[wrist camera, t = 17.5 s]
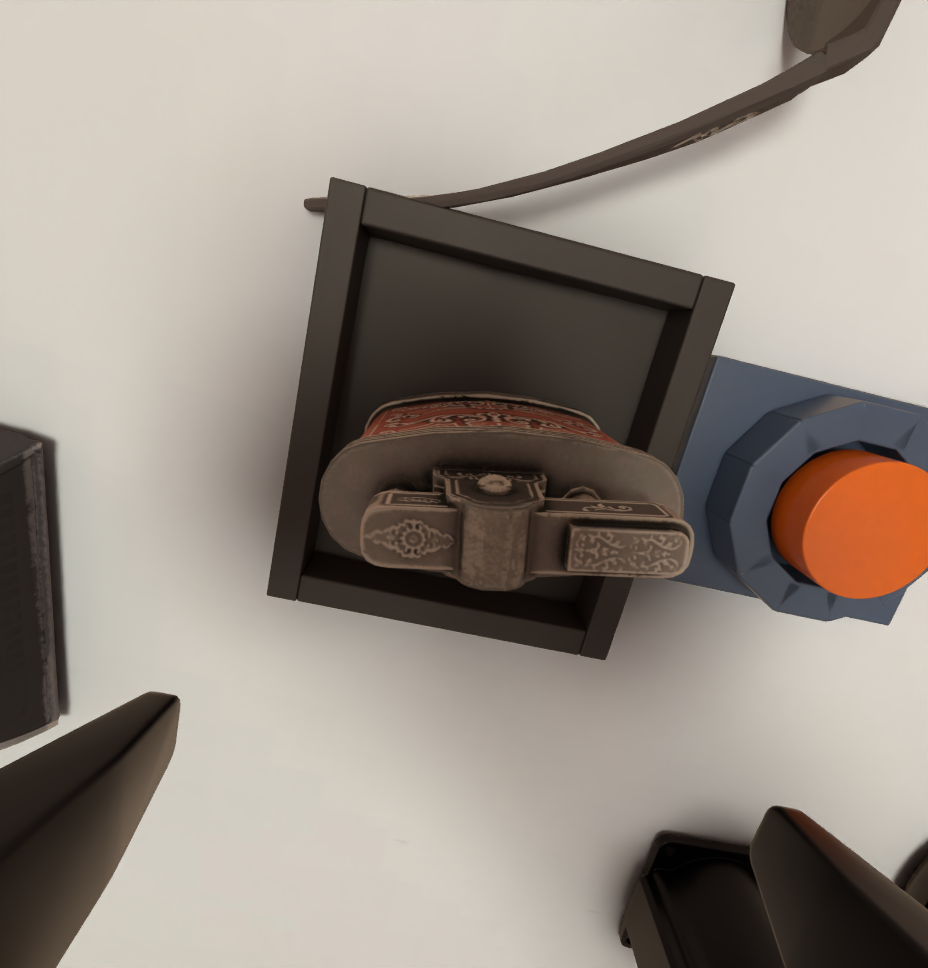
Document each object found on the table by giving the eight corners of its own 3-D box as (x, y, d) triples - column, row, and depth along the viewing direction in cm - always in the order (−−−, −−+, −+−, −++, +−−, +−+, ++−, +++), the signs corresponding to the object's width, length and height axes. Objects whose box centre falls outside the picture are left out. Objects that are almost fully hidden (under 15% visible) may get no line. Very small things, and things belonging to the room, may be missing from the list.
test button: (926, 465, 18) (975, 479, 16) (869, 586, 19) (909, 611, 17) (801, 435, 17) (838, 446, 16) (750, 560, 19) (780, 584, 17)
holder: (700, 288, 19) (736, 283, 16) (588, 624, 22) (606, 661, 20) (346, 196, 18) (330, 175, 15) (286, 564, 21) (266, 595, 19)
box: (958, 417, 20) (1044, 433, 17) (866, 610, 22) (928, 653, 19) (701, 353, 19) (746, 358, 16) (630, 561, 21) (659, 597, 18)
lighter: (366, 481, 20) (288, 631, 10) (367, 385, 19) (281, 447, 9) (591, 491, 20) (724, 645, 10) (602, 397, 19) (760, 470, 9)
